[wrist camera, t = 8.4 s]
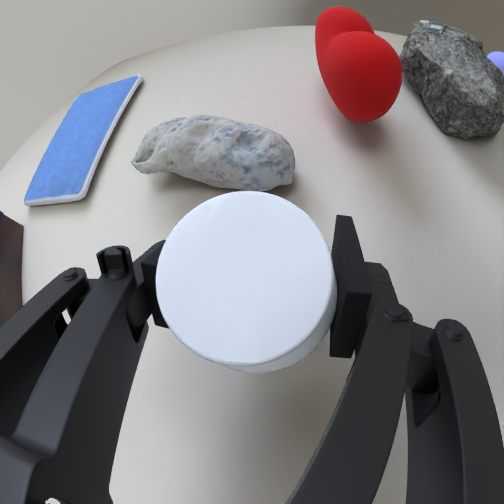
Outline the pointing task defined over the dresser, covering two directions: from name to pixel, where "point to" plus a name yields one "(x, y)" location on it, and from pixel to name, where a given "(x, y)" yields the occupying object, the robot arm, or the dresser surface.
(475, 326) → the dresser surface
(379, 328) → the robot arm
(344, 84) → the heart
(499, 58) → the sphere
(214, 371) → the dresser surface
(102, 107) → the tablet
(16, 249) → the ledge
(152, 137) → the decorative stone
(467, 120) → the rock
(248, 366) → the pill bottle
